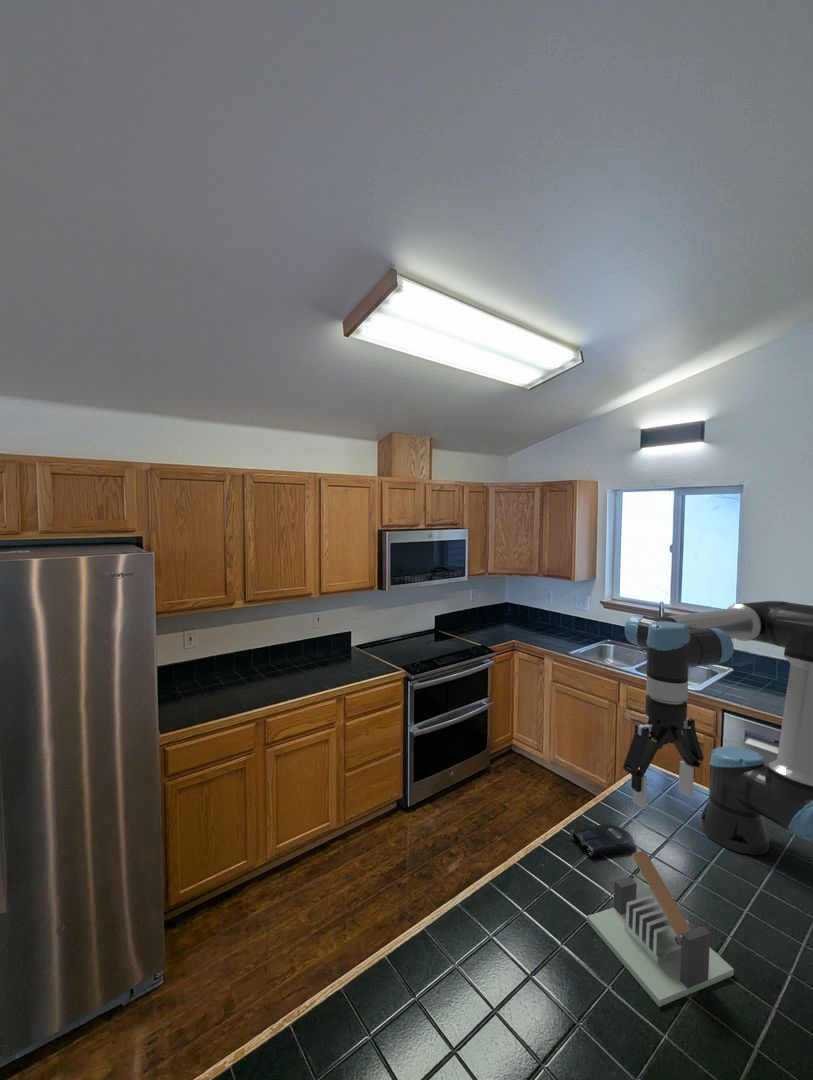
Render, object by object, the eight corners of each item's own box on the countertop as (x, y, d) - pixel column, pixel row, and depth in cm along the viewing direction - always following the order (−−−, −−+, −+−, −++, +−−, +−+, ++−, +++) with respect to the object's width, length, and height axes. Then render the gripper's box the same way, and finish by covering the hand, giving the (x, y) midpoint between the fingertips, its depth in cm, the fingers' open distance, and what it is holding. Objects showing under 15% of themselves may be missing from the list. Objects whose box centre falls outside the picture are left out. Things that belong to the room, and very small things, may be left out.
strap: (645, 851, 96) (648, 849, 96) (696, 939, 85) (699, 937, 85) (628, 856, 95) (631, 853, 94) (678, 946, 84) (681, 944, 83)
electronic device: (595, 870, 114) (642, 849, 118) (591, 847, 114) (638, 827, 118) (571, 849, 123) (616, 831, 127) (567, 828, 123) (612, 810, 127)
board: (653, 900, 103) (654, 856, 102) (733, 975, 86) (735, 923, 85) (586, 921, 97) (588, 875, 96) (659, 1006, 80) (661, 951, 79)
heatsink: (654, 919, 96) (655, 891, 96) (689, 953, 89) (690, 923, 88) (624, 929, 94) (625, 901, 93) (657, 965, 86) (658, 934, 86)
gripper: (693, 685, 103) (689, 779, 104) (605, 697, 95) (603, 800, 96) (725, 697, 96) (722, 798, 97) (634, 712, 88) (631, 822, 89)
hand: (663, 799), depth 96 cm, fingers open, 12 cm apart
